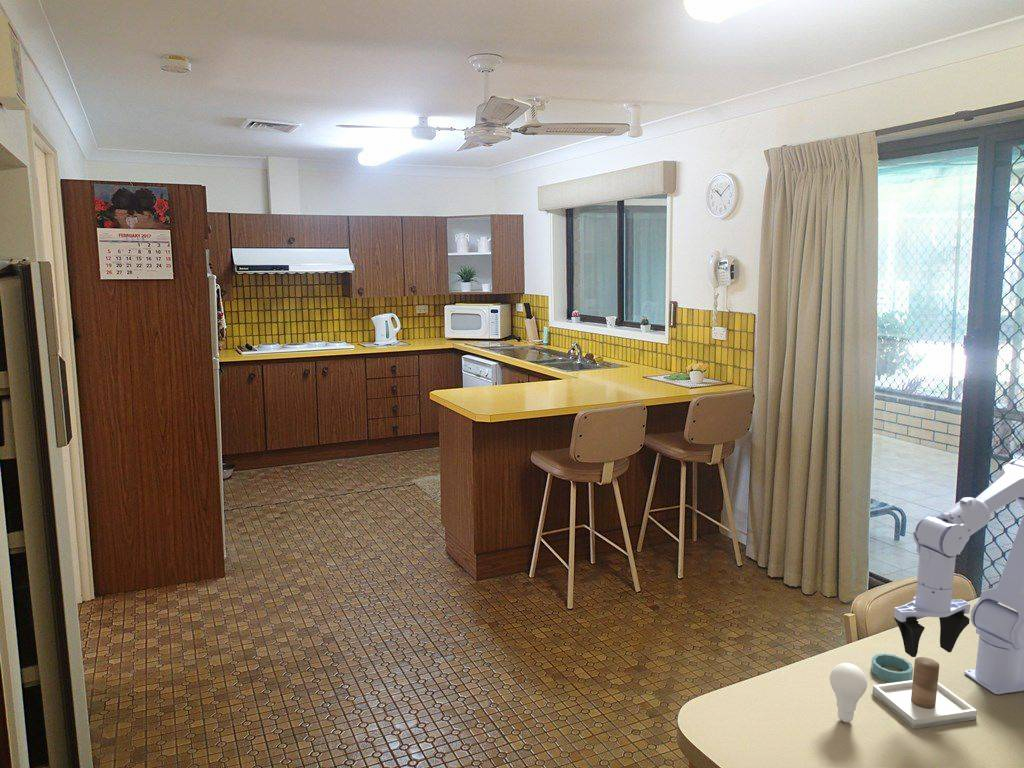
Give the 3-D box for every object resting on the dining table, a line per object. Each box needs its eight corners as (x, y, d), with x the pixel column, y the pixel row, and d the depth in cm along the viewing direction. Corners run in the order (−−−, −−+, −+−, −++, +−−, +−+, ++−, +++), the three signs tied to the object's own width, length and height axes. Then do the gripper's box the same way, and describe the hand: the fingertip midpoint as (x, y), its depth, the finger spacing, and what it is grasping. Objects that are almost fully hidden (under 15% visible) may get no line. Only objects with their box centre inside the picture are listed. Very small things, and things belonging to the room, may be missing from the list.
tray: (931, 685, 147) (931, 677, 147) (976, 719, 137) (977, 710, 137) (872, 694, 145) (873, 685, 144) (913, 728, 134) (914, 719, 134)
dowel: (924, 695, 143) (928, 656, 142) (940, 707, 139) (944, 667, 138) (906, 697, 142) (909, 658, 141) (921, 710, 138) (925, 669, 137)
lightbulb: (867, 733, 133) (872, 676, 131) (830, 729, 134) (834, 672, 132) (858, 713, 139) (863, 658, 137) (823, 709, 140) (827, 654, 138)
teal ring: (894, 661, 156) (895, 652, 156) (919, 681, 149) (920, 670, 149) (863, 666, 155) (864, 656, 154) (887, 685, 148) (888, 675, 147)
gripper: (951, 570, 143) (945, 636, 145) (884, 577, 140) (879, 645, 142) (982, 586, 136) (974, 655, 139) (912, 594, 133) (906, 665, 136)
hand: (928, 652), depth 140 cm, fingers open, 7 cm apart
